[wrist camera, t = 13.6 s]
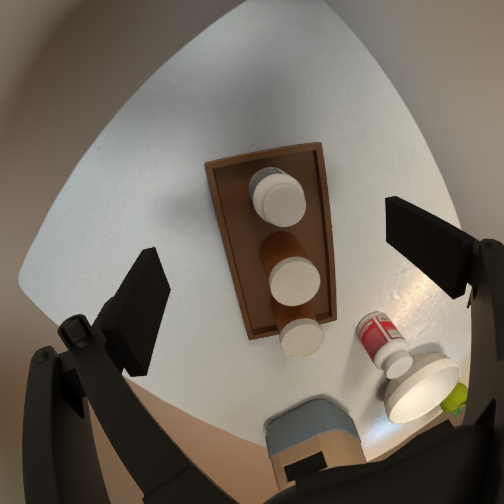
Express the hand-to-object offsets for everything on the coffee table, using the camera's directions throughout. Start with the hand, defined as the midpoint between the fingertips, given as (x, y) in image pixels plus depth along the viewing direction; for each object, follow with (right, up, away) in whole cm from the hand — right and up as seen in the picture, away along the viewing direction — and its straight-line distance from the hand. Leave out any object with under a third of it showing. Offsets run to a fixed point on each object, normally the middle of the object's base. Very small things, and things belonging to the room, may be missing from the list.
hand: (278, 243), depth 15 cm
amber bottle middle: (+2, 0, +22) cm, 22 cm away
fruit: (+56, -40, +45) cm, 82 cm away
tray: (+2, 0, +22) cm, 22 cm away
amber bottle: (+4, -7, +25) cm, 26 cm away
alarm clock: (+11, -38, +40) cm, 56 cm away
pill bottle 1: (+1, +7, +18) cm, 20 cm away
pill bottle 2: (+19, -13, +30) cm, 38 cm away
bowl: (+35, -28, +37) cm, 58 cm away
